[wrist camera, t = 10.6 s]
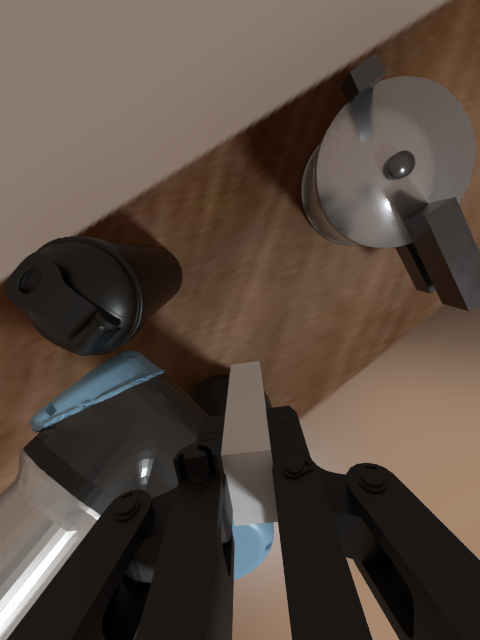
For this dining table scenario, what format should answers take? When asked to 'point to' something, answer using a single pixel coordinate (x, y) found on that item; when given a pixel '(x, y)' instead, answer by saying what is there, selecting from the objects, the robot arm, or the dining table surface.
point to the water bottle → (93, 291)
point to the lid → (403, 175)
